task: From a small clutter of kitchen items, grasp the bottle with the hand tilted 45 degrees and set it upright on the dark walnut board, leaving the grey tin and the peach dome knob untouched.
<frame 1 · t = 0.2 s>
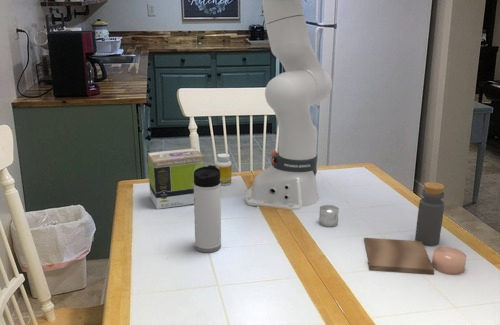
board: (396, 257, 121), on the table
travel mug: (208, 247, 125), on the table
supplement bottle: (223, 183, 168), on the table
peach dome knob: (447, 267, 117), on the table
bottle: (426, 241, 129), on the table
tin: (328, 225, 137), on the table
tea box: (177, 201, 153), on the table
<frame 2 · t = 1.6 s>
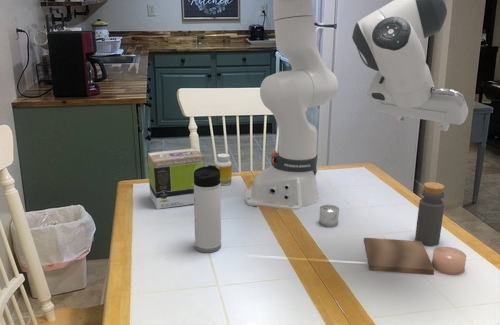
hand: (423, 124, 114), 31 cm above the table, tool tilted 45°, fingers open, 8 cm apart
nothing on the table moved.
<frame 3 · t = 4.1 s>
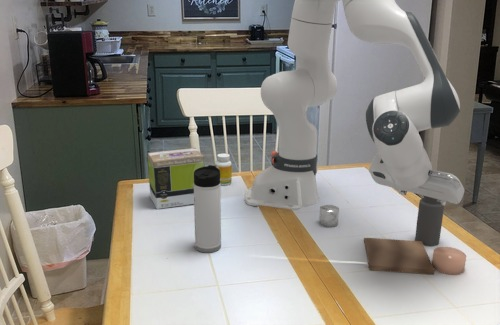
hand: (422, 197, 120), 14 cm above the table, tool tilted 45°, fingers open, 8 cm apart
nothing on the table moved.
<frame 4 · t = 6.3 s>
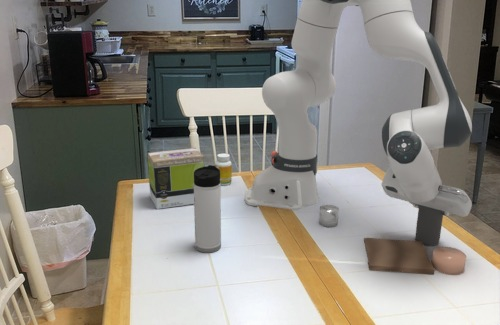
hand: (432, 209, 127), 8 cm above the table, tool tilted 45°, fingers closed on bottle, 6 cm apart
bottle: (426, 241, 129), on the table, touching gripper
everything else where it was.
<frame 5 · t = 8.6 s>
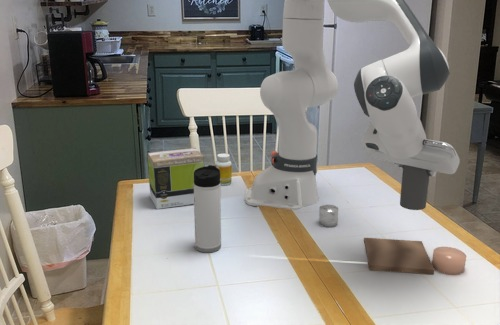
hand: (417, 170, 117), 21 cm above the table, tool tilted 45°, fingers closed on bottle, 6 cm apart
bottle: (412, 206, 119), point 12 cm above the table, touching gripper
everything else where it was.
when the fingers open (11 cm above the table, at t = 11.2 s): bottle stays where it is, resting on board.
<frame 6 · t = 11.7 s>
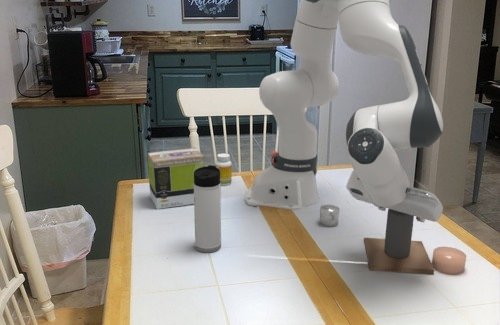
hand: (402, 213, 118), 11 cm above the table, tool tilted 45°, fingers open, 8 cm apart
bottle: (396, 253, 120), point 1 cm above the table, touching board
everything else where it was.
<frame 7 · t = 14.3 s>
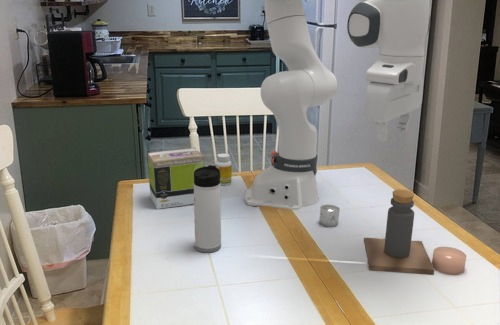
hand: (392, 136, 106), 31 cm above the table, tool pointing down, fingers open, 8 cm apart
nothing on the table moved.
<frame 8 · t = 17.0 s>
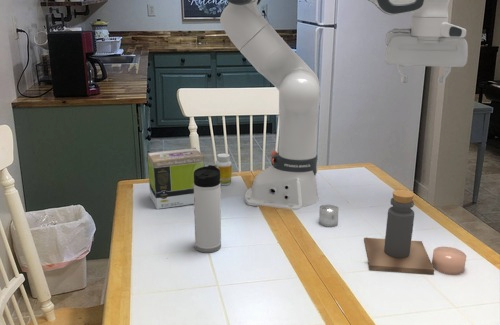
hand: (422, 83, 134), 37 cm above the table, tool pointing down, fingers open, 8 cm apart
nothing on the table moved.
at the end: bottle inside the target area on the board (0.1 cm from its centre), point 1.0 cm above the board's base; bottle tilted 0°; the gripper is holding nothing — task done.
